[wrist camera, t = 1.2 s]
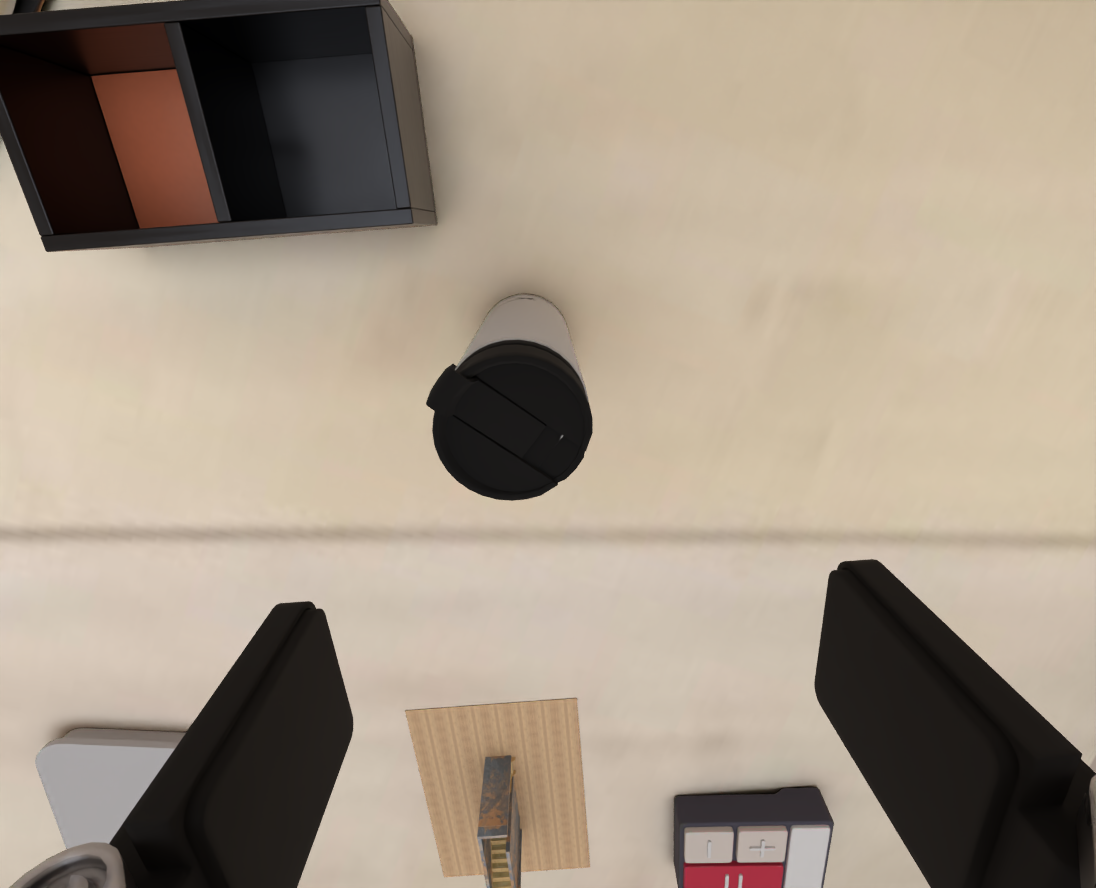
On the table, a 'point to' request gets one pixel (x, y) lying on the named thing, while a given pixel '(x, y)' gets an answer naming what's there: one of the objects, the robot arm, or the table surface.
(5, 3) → the mechanical keyboard
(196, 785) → the robot arm
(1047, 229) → the table surface
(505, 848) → the architectural model on board
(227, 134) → the caddy
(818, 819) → the calculator
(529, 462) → the travel mug
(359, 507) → the table surface
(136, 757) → the grey flat block
